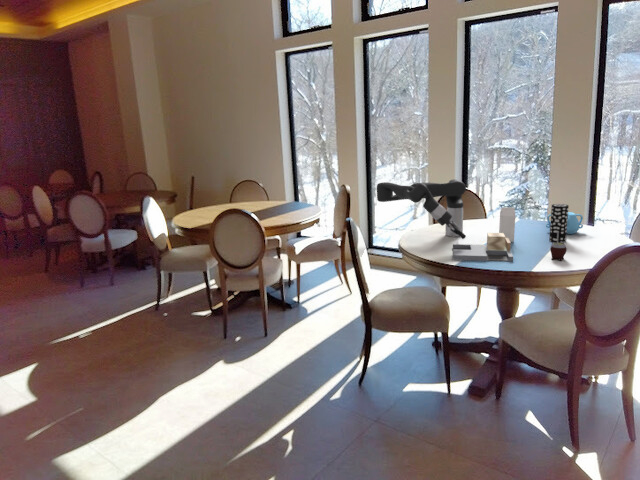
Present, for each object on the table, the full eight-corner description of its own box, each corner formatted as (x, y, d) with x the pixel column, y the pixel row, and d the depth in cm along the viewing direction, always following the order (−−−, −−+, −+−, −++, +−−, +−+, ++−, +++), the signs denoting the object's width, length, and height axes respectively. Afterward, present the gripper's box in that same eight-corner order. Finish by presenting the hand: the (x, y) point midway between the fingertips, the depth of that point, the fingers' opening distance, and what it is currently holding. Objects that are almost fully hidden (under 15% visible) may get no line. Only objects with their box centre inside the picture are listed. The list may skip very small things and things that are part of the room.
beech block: (488, 249, 256) (488, 236, 254) (486, 245, 263) (487, 232, 262) (504, 250, 254) (505, 236, 252) (502, 246, 261) (503, 233, 260)
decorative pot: (562, 228, 305) (563, 206, 301) (585, 233, 290) (587, 210, 287) (542, 231, 298) (543, 209, 295) (565, 237, 284) (566, 213, 281)
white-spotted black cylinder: (546, 239, 280) (548, 204, 275) (560, 238, 281) (563, 203, 276) (554, 243, 272) (556, 207, 267) (568, 242, 273) (571, 206, 268)
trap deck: (453, 260, 249) (453, 247, 248) (452, 248, 270) (453, 236, 268) (512, 261, 242) (513, 248, 241) (507, 249, 263) (508, 237, 262)
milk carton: (514, 241, 278) (515, 208, 273) (500, 241, 279) (502, 208, 275) (511, 238, 285) (513, 206, 280) (498, 238, 286) (500, 206, 282)
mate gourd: (560, 256, 247) (562, 227, 243) (569, 261, 239) (572, 230, 236) (546, 257, 246) (548, 228, 243) (555, 262, 239) (557, 231, 235)
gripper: (435, 217, 268) (458, 239, 268) (435, 222, 256) (459, 245, 256) (446, 207, 266) (469, 230, 266) (446, 212, 253) (470, 235, 253)
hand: (464, 237), depth 261 cm, fingers closed
